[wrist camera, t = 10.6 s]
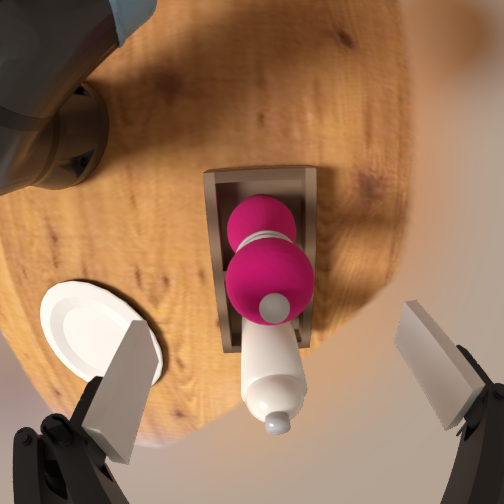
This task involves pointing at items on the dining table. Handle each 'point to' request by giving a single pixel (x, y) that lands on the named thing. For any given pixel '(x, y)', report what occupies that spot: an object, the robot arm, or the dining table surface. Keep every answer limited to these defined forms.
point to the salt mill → (272, 374)
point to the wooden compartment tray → (218, 213)
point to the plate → (88, 327)
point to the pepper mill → (267, 263)
